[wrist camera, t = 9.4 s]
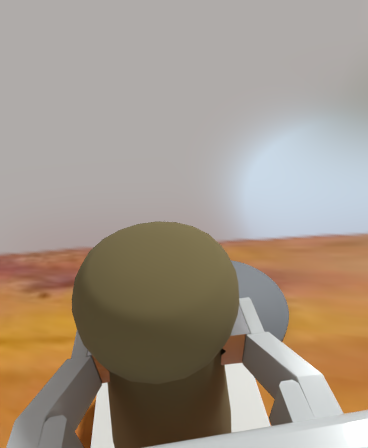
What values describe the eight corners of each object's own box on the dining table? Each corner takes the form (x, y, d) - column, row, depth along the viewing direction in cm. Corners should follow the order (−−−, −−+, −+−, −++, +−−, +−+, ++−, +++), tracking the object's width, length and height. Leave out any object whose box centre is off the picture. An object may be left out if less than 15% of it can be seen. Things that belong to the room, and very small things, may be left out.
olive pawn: (88, 468, 13) (-17, 313, 7) (140, 348, 18) (108, 191, 11) (221, 518, 11) (251, 383, 5) (238, 373, 16) (265, 209, 10)
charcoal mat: (164, 379, 26) (164, 373, 25) (157, 271, 37) (156, 266, 37) (311, 357, 27) (314, 351, 26) (260, 259, 38) (261, 254, 38)
